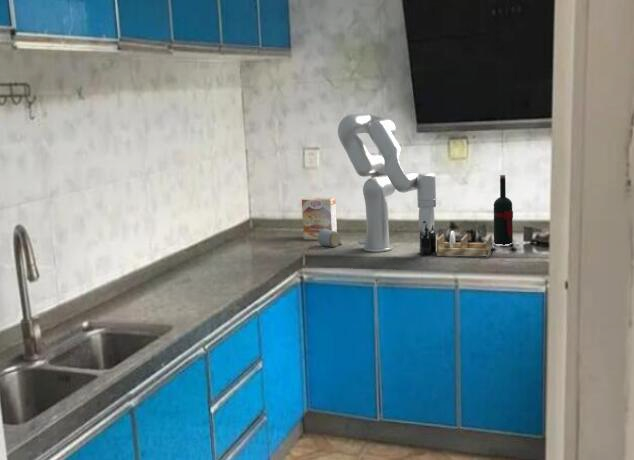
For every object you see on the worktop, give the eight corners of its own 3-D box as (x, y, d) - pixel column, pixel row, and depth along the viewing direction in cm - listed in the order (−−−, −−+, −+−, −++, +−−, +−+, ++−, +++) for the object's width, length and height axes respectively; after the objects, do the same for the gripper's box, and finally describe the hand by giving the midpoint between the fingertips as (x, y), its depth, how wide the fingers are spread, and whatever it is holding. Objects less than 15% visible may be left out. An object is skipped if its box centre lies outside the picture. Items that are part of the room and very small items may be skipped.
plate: (449, 253, 293) (449, 232, 291) (453, 249, 301) (453, 228, 299) (451, 253, 292) (451, 232, 291) (455, 249, 300) (455, 228, 299)
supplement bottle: (417, 254, 298) (416, 225, 296) (422, 250, 304) (422, 223, 302) (433, 255, 295) (432, 226, 293) (438, 251, 301) (437, 223, 299)
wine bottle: (502, 248, 300) (501, 177, 295) (490, 244, 310) (489, 175, 305) (519, 246, 302) (518, 175, 297) (506, 242, 312) (506, 173, 307)
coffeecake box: (303, 239, 344) (300, 199, 340) (309, 236, 350) (306, 197, 347) (332, 240, 338) (330, 199, 335) (337, 237, 345) (335, 197, 341)
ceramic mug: (330, 248, 319) (330, 231, 317) (317, 246, 325) (317, 230, 323) (347, 245, 326) (346, 228, 325) (334, 243, 332) (333, 226, 330)
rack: (437, 255, 293) (436, 239, 292) (442, 249, 304) (442, 234, 303) (487, 257, 286) (487, 240, 285) (491, 250, 297) (491, 234, 295)
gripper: (422, 200, 305) (423, 241, 308) (412, 206, 289) (414, 249, 292) (440, 200, 302) (440, 241, 305) (431, 206, 286) (432, 250, 290)
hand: (427, 245), depth 299 cm, fingers closed on supplement bottle, 6 cm apart
